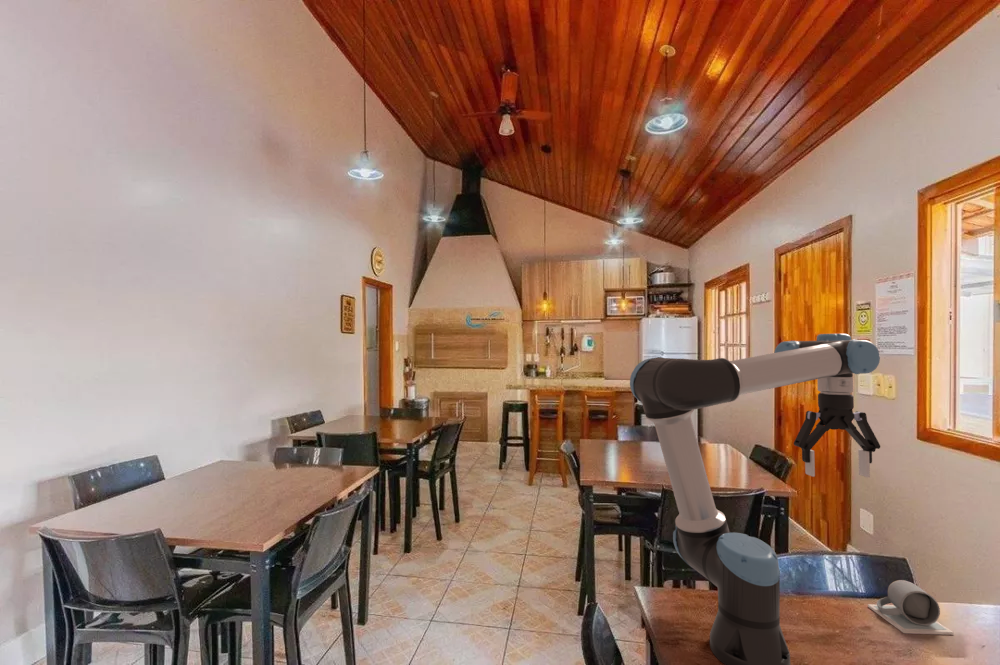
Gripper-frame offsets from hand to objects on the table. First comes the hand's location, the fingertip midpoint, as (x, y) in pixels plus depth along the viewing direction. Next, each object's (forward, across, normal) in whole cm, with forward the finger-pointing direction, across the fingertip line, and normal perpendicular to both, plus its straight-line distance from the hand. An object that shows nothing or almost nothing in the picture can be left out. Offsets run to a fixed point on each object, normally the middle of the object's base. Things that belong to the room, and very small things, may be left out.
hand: (837, 475), depth 119 cm
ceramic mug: (+32, +12, -6) cm, 35 cm away
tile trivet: (+33, +12, -6) cm, 35 cm away
